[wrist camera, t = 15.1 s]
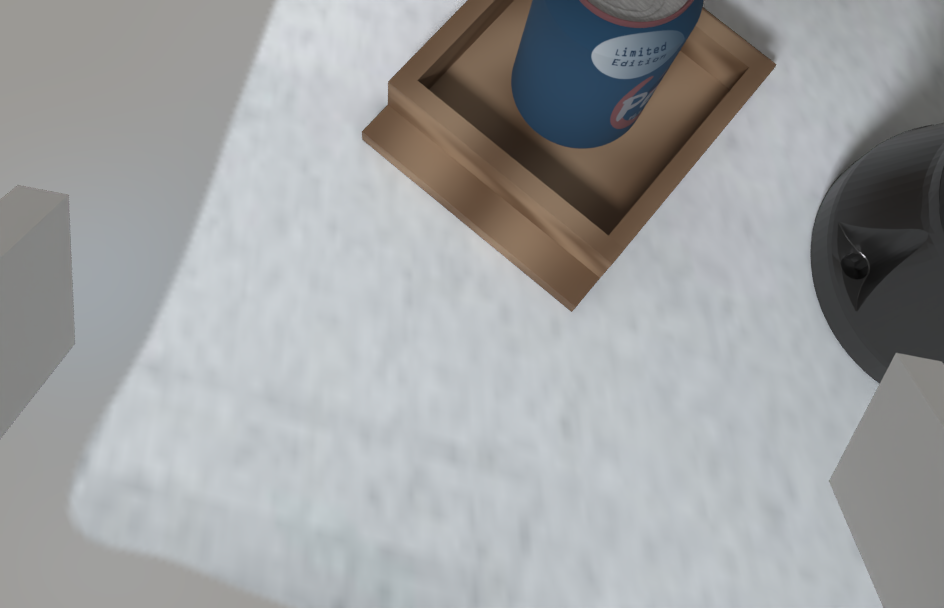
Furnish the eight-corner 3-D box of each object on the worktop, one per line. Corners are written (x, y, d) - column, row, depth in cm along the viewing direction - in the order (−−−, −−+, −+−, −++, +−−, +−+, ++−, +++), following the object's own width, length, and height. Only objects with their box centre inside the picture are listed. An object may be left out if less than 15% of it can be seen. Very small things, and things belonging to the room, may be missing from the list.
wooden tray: (768, 73, 50) (796, 40, 47) (571, 311, 46) (586, 294, 42) (573, -80, 51) (586, -122, 48) (362, 139, 47) (361, 109, 43)
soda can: (625, 172, 47) (705, 56, 35) (495, 140, 46) (533, 12, 35) (647, 55, 49) (730, -92, 37) (522, 24, 48) (566, -135, 37)
